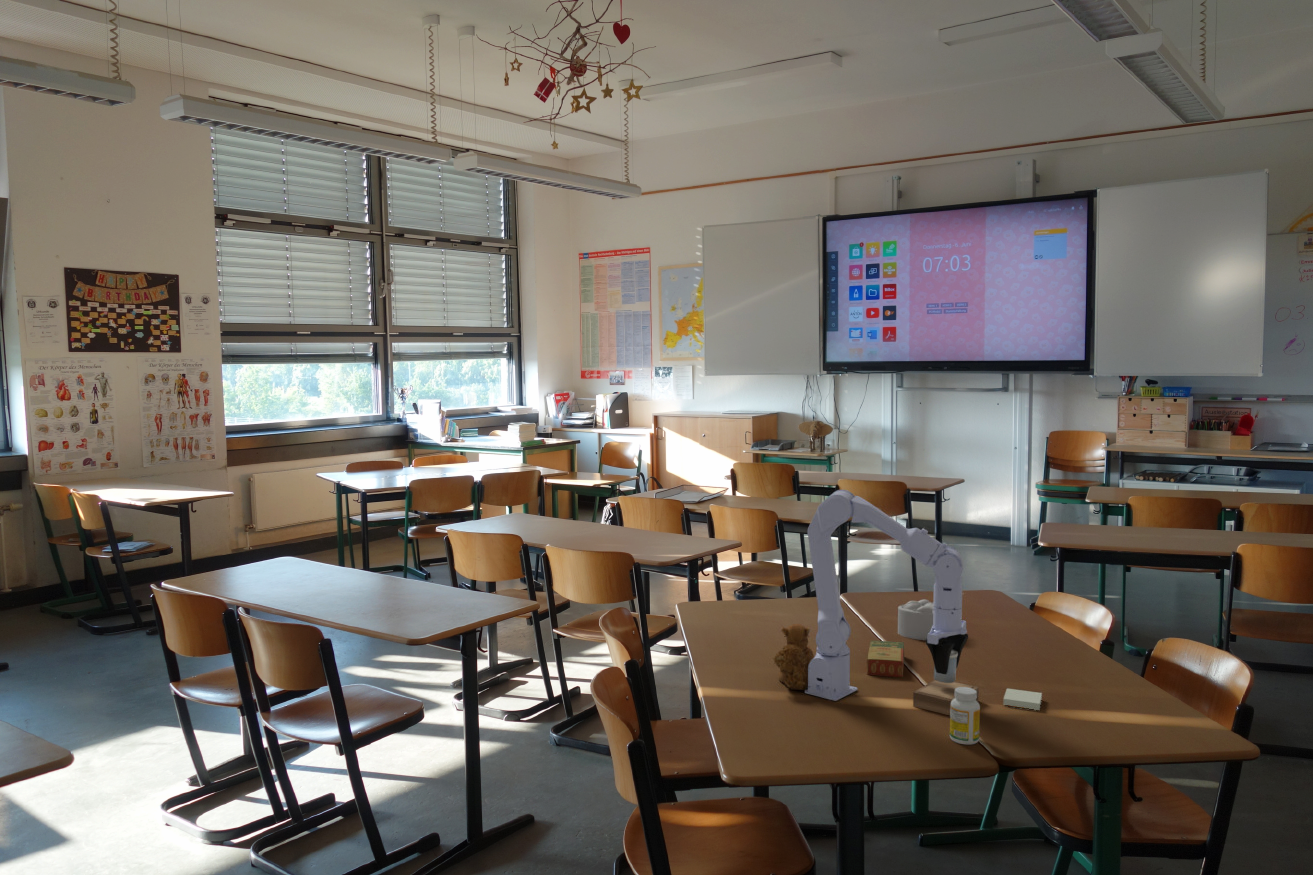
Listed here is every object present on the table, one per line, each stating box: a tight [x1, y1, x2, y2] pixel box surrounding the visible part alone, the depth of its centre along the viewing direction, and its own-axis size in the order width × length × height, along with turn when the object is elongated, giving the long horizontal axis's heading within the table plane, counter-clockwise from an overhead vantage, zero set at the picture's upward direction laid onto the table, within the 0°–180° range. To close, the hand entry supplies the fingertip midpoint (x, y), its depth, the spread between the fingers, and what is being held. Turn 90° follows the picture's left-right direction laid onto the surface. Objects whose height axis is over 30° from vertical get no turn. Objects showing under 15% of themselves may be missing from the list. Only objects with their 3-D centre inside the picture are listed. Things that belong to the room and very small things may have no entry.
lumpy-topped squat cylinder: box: [897, 598, 934, 641], centre depth 247 cm, size 10×13×9 cm
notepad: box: [1002, 688, 1043, 711], centre depth 197 cm, size 7×7×2 cm
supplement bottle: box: [949, 687, 981, 746], centre depth 177 cm, size 5×5×10 cm
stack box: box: [912, 679, 980, 716], centre depth 196 cm, size 12×9×3 cm
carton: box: [866, 640, 905, 678], centre depth 222 cm, size 8×16×4 cm, turn 164°
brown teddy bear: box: [772, 623, 815, 691], centre depth 209 cm, size 10×14×13 cm
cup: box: [933, 649, 958, 683], centre depth 196 cm, size 5×5×6 cm
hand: (946, 669), depth 196 cm, fingers closed on cup, 4 cm apart
